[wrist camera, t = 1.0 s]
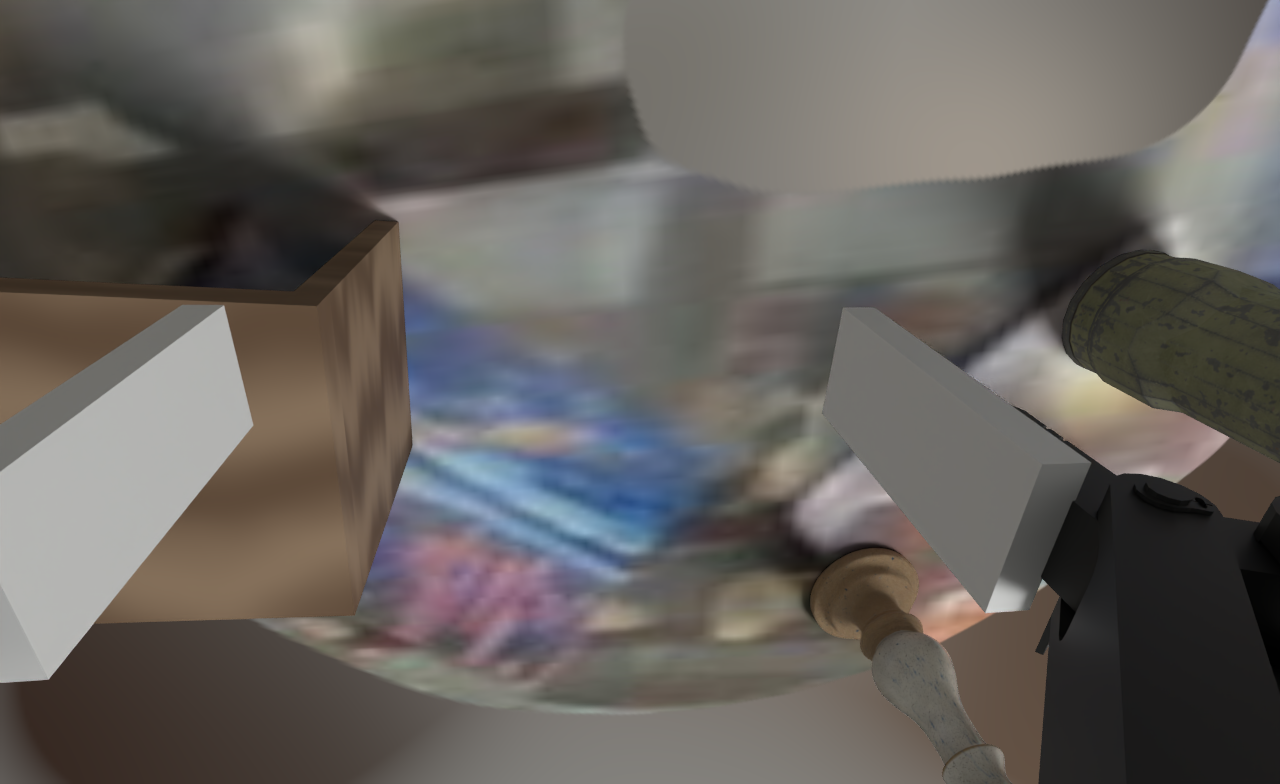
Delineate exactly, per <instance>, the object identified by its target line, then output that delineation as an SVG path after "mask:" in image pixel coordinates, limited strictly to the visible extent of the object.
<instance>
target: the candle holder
mask: <svg viewBox="0 0 1280 784" xmlns="http://www.w3.org/2000/svg"><path fill="white" fill-rule="evenodd" d="M918 587H919V582H918V576H917V573H916V571H915V569H914V568H913V566H912V565H911V564H910V562H909V561H908V560H907V559H906V558H905V557H903V556H902V555H901V554H899V553H897V552H895V551H892V550H888V549H883V548H868V549H862V550H859V551H855V552H852V553H850V554H847V555H845V556H843V557H842V558H840V559H838V560H836V561H835V562H834V563H832V564H831V565H830V566H829V567H828V568H826V569H825V570H824V571H823V573H822V574H821V575H820V576H819V578H818V579H817V581H816V582H815V584H814V587H813V589H812V592H811V597H810V606H811V611H812V613H813V616H814V618H815V620H816V622H817V623H818V624H819V626H820V627H821V628H822V629H823V630H824V631H826V632H827V633H829V634H831V635H833V636H836V637H840V638H848V639H860V648H861V650H862V653H863V654H864V655H865V656H866V657H867V658H868V659H869V660H871V661H872V675H873V680H874V682H875V684H876V686H877V688H878V690H879V691H880V692H881V694H882V695H883V696H884V697H885V698H886V699H887V700H888V701H889V702H890V703H892V705H894V706H895V707H896V708H897V709H899V710H900V711H901V712H903V713H904V714H906V715H907V716H909V717H910V718H911V719H912V720H913V721H915V722H916V723H917V724H918V725H919V726H920V728H921V729H922V730H923V731H924V732H925V734H926V735H927V737H928V738H929V739H930V741H931V742H932V744H933V746H934V747H935V749H936V750H937V752H938V753H939V755H940V757H941V758H942V761H943V763H944V765H945V766H944V768H943V772H942V777H943V780H944V781H945V783H946V784H1012V783H1011V782H1010V781H1009V779H1008V778H1007V776H1006V773H1005V764H1004V755H1003V753H1002V751H1001V750H1000V749H999V748H998V747H996V746H993V745H989V744H986V743H985V742H984V741H983V740H982V738H981V737H980V735H979V734H978V732H977V730H976V729H975V727H974V726H973V724H972V723H971V721H970V719H969V718H968V716H967V714H966V712H965V710H964V708H963V706H962V703H961V700H960V697H959V693H958V687H957V680H956V674H955V671H954V667H953V664H952V661H951V658H950V656H949V654H948V653H947V651H946V650H945V648H944V647H943V646H942V645H941V644H940V643H939V642H938V641H937V640H935V639H934V638H932V637H930V636H928V635H926V634H923V627H922V624H921V622H920V620H919V619H918V618H917V617H915V616H914V615H912V614H909V611H910V609H911V607H912V605H913V603H914V601H915V599H916V596H917V593H918Z"/></svg>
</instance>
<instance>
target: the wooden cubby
mask: <svg viewBox="0 0 1280 784" xmlns="http://www.w3.org/2000/svg"><path fill="white" fill-rule="evenodd" d="M181 305H224V307H225V311H226V315H227V319H228V324H229V328H230V332H231V336H232V340H233V344H234V348H235V352H236V356H237V360H238V364H239V368H240V373H241V377H242V381H243V385H244V389H245V393H246V397H247V401H248V405H249V409H250V413H251V417H252V422H253V426H252V428H251V429H250V430H249V431H248V433H247V434H246V435H245V436H244V438H243V439H242V440H241V441H240V443H239V444H238V445H237V446H236V448H235V449H234V450H233V451H232V453H231V454H230V455H229V456H228V457H227V459H226V460H225V461H224V462H223V464H222V465H221V466H220V467H219V469H218V470H217V471H216V472H215V474H214V475H213V476H212V477H211V479H210V480H209V481H208V482H207V484H206V485H205V486H204V487H203V488H202V490H201V491H200V492H199V493H198V495H197V496H196V497H195V498H194V500H193V501H192V502H191V503H190V505H189V506H188V507H187V508H186V510H185V511H184V512H183V513H182V515H181V516H180V517H179V518H178V519H177V521H176V522H175V523H174V524H173V526H172V527H171V528H170V529H169V531H168V532H167V533H166V534H165V536H164V537H163V538H162V539H161V541H160V542H159V543H158V544H157V545H156V547H155V548H154V549H153V550H152V552H151V553H150V554H149V555H148V557H147V558H146V559H145V560H144V562H143V563H142V564H141V565H140V567H139V568H138V569H137V570H136V572H135V573H134V574H133V575H132V576H131V578H130V579H129V580H128V581H127V583H126V584H125V585H124V586H123V588H122V589H121V590H120V591H119V593H118V594H117V595H116V596H115V598H114V599H113V600H112V601H111V603H110V604H109V605H108V606H107V607H106V609H105V610H104V611H103V612H102V614H101V615H100V616H99V617H98V619H97V620H96V621H95V622H94V624H96V623H127V622H158V621H191V620H219V619H220V620H221V619H222V620H223V619H254V618H286V617H318V616H350V615H355V613H356V610H357V607H358V604H359V601H360V598H361V595H362V592H363V589H364V586H365V583H366V581H367V578H368V575H369V572H370V569H371V566H372V563H373V560H374V557H375V554H376V551H377V548H378V545H379V542H380V539H381V537H382V534H383V531H384V528H385V525H386V522H387V519H388V516H389V513H390V510H391V507H392V504H393V501H394V498H395V495H396V492H397V490H398V487H399V484H400V481H401V478H402V475H403V472H404V469H405V466H406V463H407V460H408V457H409V454H410V451H411V448H412V430H411V415H410V399H409V383H408V367H407V351H406V335H405V319H404V303H403V287H402V271H401V255H400V239H399V223H398V222H393V221H378V220H375V221H374V222H373V223H371V224H370V225H369V226H368V227H367V228H366V229H365V230H363V231H362V232H361V233H360V234H359V235H358V236H357V237H355V238H354V239H353V240H352V241H351V242H350V243H349V244H347V245H346V246H345V247H344V248H343V249H342V250H341V251H339V252H338V253H337V254H336V255H335V256H334V257H333V258H331V259H330V260H329V261H328V262H327V263H326V264H325V265H323V266H322V267H321V268H320V269H319V270H318V271H317V272H315V273H314V274H313V275H312V276H311V277H310V278H309V279H307V280H306V281H305V282H304V283H303V284H302V285H301V286H300V287H298V288H297V289H296V290H295V291H274V290H253V289H231V288H210V287H189V286H168V285H147V284H126V283H105V282H84V281H63V280H42V279H21V278H0V424H2V423H3V422H5V421H6V420H8V419H9V418H11V417H12V416H14V415H15V414H17V413H19V412H20V411H22V410H23V409H25V408H26V407H28V406H29V405H31V404H32V403H34V402H35V401H37V400H38V399H40V398H41V397H43V396H44V395H46V394H47V393H49V392H50V391H52V390H53V389H55V388H57V387H58V386H60V385H61V384H63V383H64V382H66V381H67V380H69V379H70V378H72V377H73V376H75V375H76V374H78V373H79V372H81V371H82V370H84V369H85V368H87V367H88V366H90V365H91V364H93V363H95V362H96V361H98V360H99V359H101V358H102V357H104V356H105V355H107V354H108V353H110V352H111V351H113V350H114V349H116V348H117V347H119V346H120V345H122V344H123V343H125V342H126V341H128V340H129V339H131V338H133V337H134V336H136V335H137V334H139V333H140V332H142V331H143V330H145V329H146V328H148V327H149V326H151V325H152V324H154V323H155V322H157V321H158V320H160V319H161V318H163V317H164V316H166V315H168V314H169V313H171V312H172V311H174V310H175V309H177V308H178V307H180V306H181Z"/></svg>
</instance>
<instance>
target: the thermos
mask: <svg viewBox="0 0 1280 784" xmlns="http://www.w3.org/2000/svg"><path fill="white" fill-rule="evenodd" d="M1062 339H1063V343H1064V346H1065V350H1066V353H1067V354H1068V355H1069V356H1070V358H1071V359H1072V360H1073V361H1074V362H1075V363H1076V364H1077V365H1079V366H1081V367H1083V368H1085V369H1088V370H1090V371H1092V372H1095V373H1097V375H1098V376H1099V377H1100V378H1101V379H1102V380H1103V381H1104V382H1106V383H1107V384H1109V385H1111V386H1113V387H1115V388H1117V389H1119V390H1120V391H1122V392H1124V393H1126V394H1128V395H1130V396H1132V397H1134V398H1135V399H1137V400H1139V401H1141V402H1143V403H1145V404H1147V405H1148V406H1150V407H1152V408H1156V409H1162V410H1169V411H1175V412H1181V413H1184V414H1186V415H1188V416H1190V417H1192V418H1194V419H1196V420H1198V421H1200V422H1201V423H1203V424H1205V425H1207V426H1209V427H1211V428H1213V429H1215V430H1217V431H1219V432H1221V433H1223V434H1225V435H1226V436H1228V437H1230V438H1232V439H1234V440H1236V441H1238V442H1240V443H1242V444H1244V445H1246V446H1248V447H1250V448H1252V449H1254V450H1255V451H1257V452H1259V453H1261V454H1263V455H1265V456H1267V457H1269V458H1271V459H1273V460H1275V461H1277V462H1279V463H1280V290H1279V289H1278V288H1277V287H1276V286H1274V285H1273V284H1271V283H1268V282H1266V281H1263V280H1261V279H1258V278H1256V277H1253V276H1251V275H1248V274H1246V273H1243V272H1241V271H1237V270H1234V269H1230V268H1227V267H1223V266H1219V265H1216V264H1212V263H1208V262H1205V261H1201V260H1198V259H1191V258H1175V257H1172V256H1169V255H1167V254H1165V253H1162V252H1159V251H1147V250H1138V251H1134V252H1130V253H1127V254H1123V255H1120V256H1118V257H1116V258H1115V259H1113V260H1111V261H1109V262H1108V263H1106V264H1104V265H1102V266H1101V267H1100V268H1099V269H1097V270H1096V271H1095V272H1094V273H1093V274H1092V275H1091V276H1090V277H1089V278H1088V279H1087V280H1086V281H1085V282H1084V283H1083V284H1082V285H1081V287H1080V288H1079V290H1078V291H1077V293H1076V294H1075V296H1074V297H1073V299H1072V300H1071V302H1070V305H1069V307H1068V310H1067V312H1066V315H1065V318H1064V321H1063V333H1062Z"/></svg>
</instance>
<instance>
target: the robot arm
mask: <svg viewBox="0 0 1280 784" xmlns="http://www.w3.org/2000/svg"><path fill="white" fill-rule="evenodd" d="M822 414H823V415H824V416H825V417H826V419H827V420H828V421H829V422H830V424H831V425H832V426H833V427H834V428H835V430H836V431H837V432H838V433H839V435H840V436H841V437H842V438H843V439H844V441H845V442H846V443H847V444H848V446H849V447H850V448H851V449H852V450H853V452H854V453H855V454H856V455H857V457H858V458H859V459H860V460H861V462H862V463H863V464H864V465H865V466H866V468H867V469H868V470H869V471H870V473H871V474H872V475H873V476H874V477H875V479H876V480H877V481H878V482H879V484H880V485H881V486H882V487H883V488H884V490H885V491H886V492H887V493H888V495H889V496H890V497H891V498H892V499H893V501H894V502H895V503H896V504H897V506H898V507H899V508H900V509H901V511H902V512H903V513H904V514H905V515H906V517H907V518H908V519H909V520H910V522H911V523H912V524H913V525H914V526H915V528H916V529H917V530H918V531H919V533H920V534H921V535H922V536H923V537H924V539H925V540H926V541H927V542H928V544H929V545H930V546H931V547H932V548H933V550H934V551H935V552H936V553H937V555H938V556H939V557H940V558H941V559H942V561H943V562H944V563H945V564H946V566H947V567H948V568H949V569H950V571H951V572H952V573H953V574H954V575H955V577H956V578H957V579H958V580H959V582H960V583H961V584H962V585H963V586H964V588H965V589H966V590H967V591H968V593H969V594H970V595H971V596H972V597H973V599H974V600H975V601H976V602H977V604H978V605H979V606H980V607H981V608H982V610H983V611H984V612H985V613H992V612H1006V611H1020V610H1029V609H1030V606H1031V604H1032V602H1033V600H1034V597H1035V595H1036V593H1037V590H1038V588H1039V585H1040V583H1041V581H1042V579H1043V580H1044V581H1045V582H1046V583H1047V584H1048V585H1049V586H1050V587H1051V588H1052V589H1053V590H1054V591H1055V592H1056V593H1057V594H1058V595H1059V596H1060V597H1059V599H1058V601H1057V604H1056V606H1055V608H1054V610H1053V613H1052V615H1051V617H1050V619H1049V622H1048V624H1047V626H1046V628H1045V631H1044V633H1043V635H1042V637H1041V640H1040V642H1039V644H1038V646H1037V649H1036V651H1035V652H1038V653H1040V654H1042V655H1043V654H1044V653H1045V651H1046V649H1047V647H1049V651H1048V664H1047V677H1046V691H1045V704H1044V718H1043V731H1042V745H1041V758H1040V771H1039V784H1280V496H1278V497H1275V499H1274V500H1273V502H1272V503H1271V504H1270V507H1269V508H1268V510H1267V511H1266V513H1265V515H1264V516H1263V518H1262V520H1261V521H1260V523H1259V522H1252V521H1245V520H1238V519H1232V518H1225V517H1223V516H1222V514H1221V513H1220V511H1219V510H1218V508H1217V507H1216V506H1215V505H1214V504H1213V503H1211V502H1210V501H1209V500H1207V499H1206V498H1204V497H1203V496H1202V495H1200V494H1198V493H1196V492H1194V491H1192V490H1190V489H1188V488H1186V487H1184V486H1182V485H1179V484H1176V483H1173V482H1171V481H1168V480H1165V479H1162V478H1158V477H1153V476H1148V475H1143V474H1125V473H1124V474H1121V475H1118V476H1116V475H1115V474H1113V473H1112V472H1111V471H1109V470H1108V469H1106V468H1105V467H1103V466H1102V465H1101V464H1099V463H1098V462H1096V461H1095V460H1094V459H1092V458H1091V457H1089V456H1088V455H1087V454H1085V453H1084V452H1082V451H1081V450H1079V449H1078V448H1077V447H1075V446H1074V445H1072V444H1071V443H1070V442H1068V441H1063V438H1062V437H1061V436H1060V435H1058V434H1057V433H1055V432H1054V431H1053V430H1051V429H1046V426H1045V425H1044V424H1043V423H1041V422H1040V421H1038V420H1037V419H1036V418H1034V417H1033V416H1031V415H1030V414H1029V413H1027V412H1026V411H1023V410H1021V409H1019V408H1017V407H1015V406H1012V405H1010V404H1009V403H1007V402H1006V401H1004V400H1003V399H1002V398H1000V397H999V396H997V395H996V394H995V393H993V392H992V391H990V390H989V389H988V388H986V387H985V386H983V385H982V384H981V383H979V382H978V381H976V380H975V379H974V378H972V377H971V376H969V375H968V374H967V373H965V372H964V371H963V370H961V369H960V368H958V367H957V366H956V365H954V364H953V363H951V362H950V361H949V360H947V359H946V358H944V357H943V356H942V355H940V354H939V353H937V352H936V351H935V350H933V349H932V348H930V347H929V346H928V345H926V344H925V343H923V342H922V341H921V340H919V339H918V338H916V337H915V336H914V335H912V334H911V333H909V332H908V331H907V330H905V329H904V328H902V327H901V326H900V325H898V324H897V323H895V322H894V321H893V320H891V319H890V318H888V317H887V316H886V315H884V314H883V313H881V312H880V311H879V310H877V309H876V308H874V307H843V311H842V316H841V321H840V326H839V331H838V336H837V341H836V346H835V351H834V356H833V361H832V366H831V371H830V376H829V381H828V386H827V391H826V396H825V401H824V406H823V411H822ZM252 426H253V422H252V417H251V413H250V409H249V405H248V401H247V397H246V393H245V389H244V385H243V381H242V377H241V373H240V368H239V364H238V360H237V356H236V352H235V348H234V344H233V340H232V336H231V332H230V328H229V324H228V319H227V315H226V311H225V307H224V305H181V306H180V307H178V308H177V309H175V310H174V311H172V312H171V313H169V314H168V315H166V316H164V317H163V318H161V319H160V320H158V321H157V322H155V323H154V324H152V325H151V326H149V327H148V328H146V329H145V330H143V331H142V332H140V333H139V334H137V335H136V336H134V337H133V338H131V339H129V340H128V341H126V342H125V343H123V344H122V345H120V346H119V347H117V348H116V349H114V350H113V351H111V352H110V353H108V354H107V355H105V356H104V357H102V358H101V359H99V360H98V361H96V362H95V363H93V364H91V365H90V366H88V367H87V368H85V369H84V370H82V371H81V372H79V373H78V374H76V375H75V376H73V377H72V378H70V379H69V380H67V381H66V382H64V383H63V384H61V385H60V386H58V387H57V388H55V389H53V390H52V391H50V392H49V393H47V394H46V395H44V396H43V397H41V398H40V399H38V400H37V401H35V402H34V403H32V404H31V405H29V406H28V407H26V408H25V409H23V410H22V411H20V412H19V413H17V414H15V415H14V416H12V417H11V418H9V419H8V420H6V421H5V422H3V423H2V424H0V683H5V682H19V681H32V680H46V679H47V680H48V679H49V678H50V677H51V676H52V674H53V673H54V672H55V671H56V669H57V668H58V667H59V666H60V664H61V663H62V662H63V661H64V659H65V658H66V657H67V656H68V655H69V653H70V652H71V651H72V650H73V648H74V647H75V646H76V645H77V643H78V642H79V641H80V640H81V638H82V637H83V636H84V635H85V634H86V632H87V631H88V630H89V628H90V627H91V626H92V625H93V624H94V622H95V621H96V620H97V619H98V617H99V616H100V615H101V614H102V612H103V611H104V610H105V609H106V607H107V606H108V605H109V604H110V603H111V601H112V600H113V599H114V598H115V596H116V595H117V594H118V593H119V591H120V590H121V589H122V588H123V586H124V585H125V584H126V583H127V581H128V580H129V579H130V578H131V576H132V575H133V574H134V573H135V572H136V570H137V569H138V568H139V567H140V565H141V564H142V563H143V562H144V560H145V559H146V558H147V557H148V555H149V554H150V553H151V552H152V550H153V549H154V548H155V547H156V545H157V544H158V543H159V542H160V541H161V539H162V538H163V537H164V536H165V534H166V533H167V532H168V531H169V529H170V528H171V527H172V526H173V524H174V523H175V522H176V521H177V519H178V518H179V517H180V516H181V515H182V513H183V512H184V511H185V510H186V508H187V507H188V506H189V505H190V503H191V502H192V501H193V500H194V498H195V497H196V496H197V495H198V493H199V492H200V491H201V490H202V488H203V487H204V486H205V485H206V484H207V482H208V481H209V480H210V479H211V477H212V476H213V475H214V474H215V472H216V471H217V470H218V469H219V467H220V466H221V465H222V464H223V462H224V461H225V460H226V459H227V457H228V456H229V455H230V454H231V453H232V451H233V450H234V449H235V448H236V446H237V445H238V444H239V443H240V441H241V440H242V439H243V438H244V436H245V435H246V434H247V433H248V431H249V430H250V429H251V428H252Z"/></svg>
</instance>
